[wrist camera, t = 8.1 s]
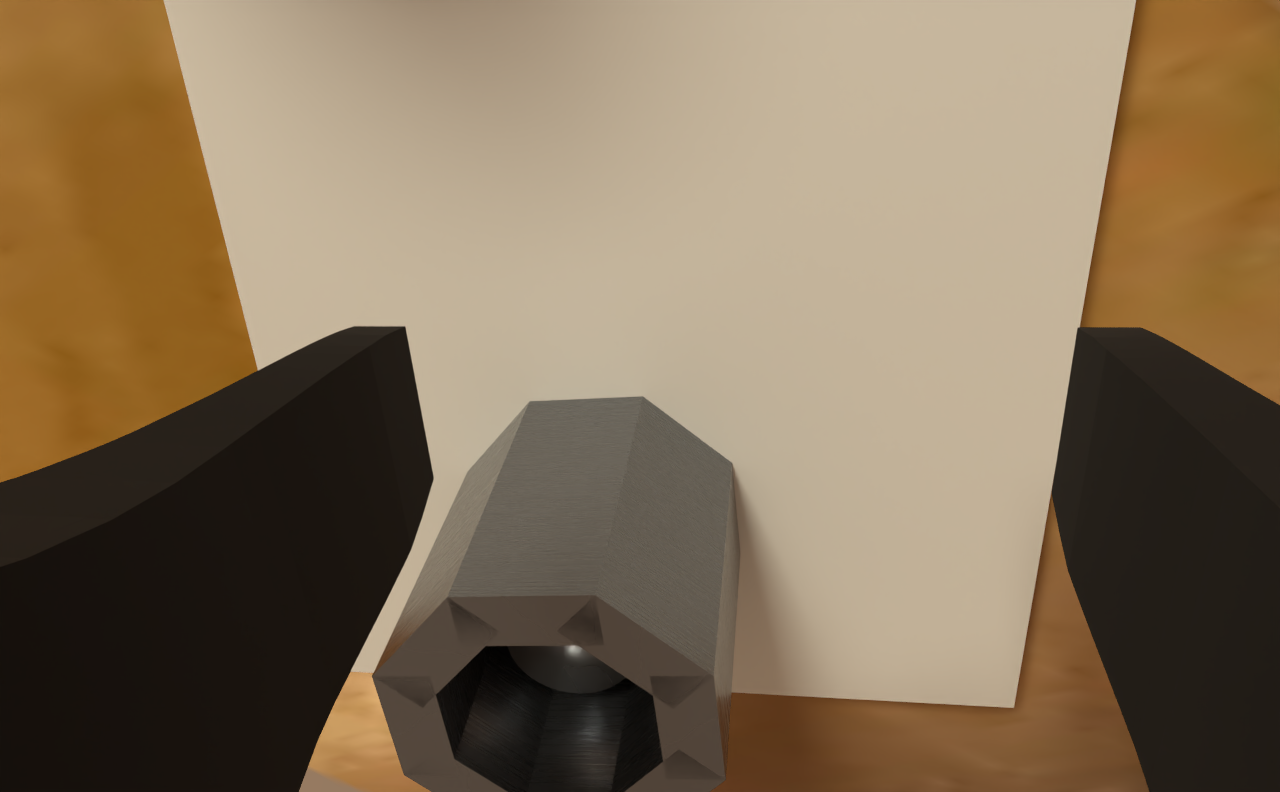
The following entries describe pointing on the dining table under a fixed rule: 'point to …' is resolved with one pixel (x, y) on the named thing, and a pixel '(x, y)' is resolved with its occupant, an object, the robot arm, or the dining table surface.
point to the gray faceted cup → (574, 611)
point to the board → (707, 269)
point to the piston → (565, 668)
